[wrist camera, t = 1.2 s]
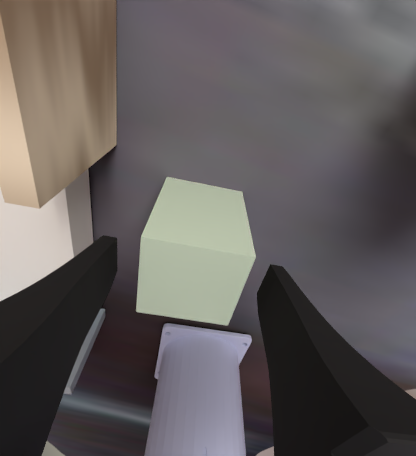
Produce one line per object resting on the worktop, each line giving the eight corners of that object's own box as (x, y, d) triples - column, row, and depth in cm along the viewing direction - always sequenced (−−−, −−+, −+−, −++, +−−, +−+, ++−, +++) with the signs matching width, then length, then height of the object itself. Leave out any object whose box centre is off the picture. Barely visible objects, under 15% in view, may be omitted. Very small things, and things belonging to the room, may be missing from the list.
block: (224, 249, 17) (227, 325, 12) (159, 237, 17) (136, 311, 12) (242, 191, 15) (255, 257, 10) (166, 176, 14) (141, 237, 9)
